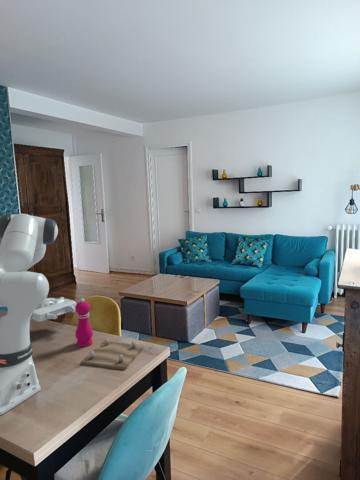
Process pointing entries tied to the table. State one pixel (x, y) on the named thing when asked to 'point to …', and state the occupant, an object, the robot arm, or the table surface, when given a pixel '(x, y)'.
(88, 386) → the table surface
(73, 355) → the table surface
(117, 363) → the pin base
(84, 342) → the pepper mill
